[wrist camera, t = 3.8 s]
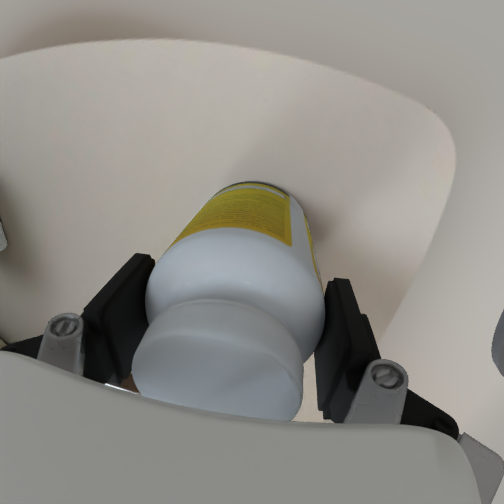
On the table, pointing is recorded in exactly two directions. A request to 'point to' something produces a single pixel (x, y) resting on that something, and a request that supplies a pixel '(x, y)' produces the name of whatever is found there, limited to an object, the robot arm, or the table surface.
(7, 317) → the table surface
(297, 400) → the pill bottle
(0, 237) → the cosmetic box
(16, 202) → the table surface
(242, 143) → the table surface
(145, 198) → the table surface
